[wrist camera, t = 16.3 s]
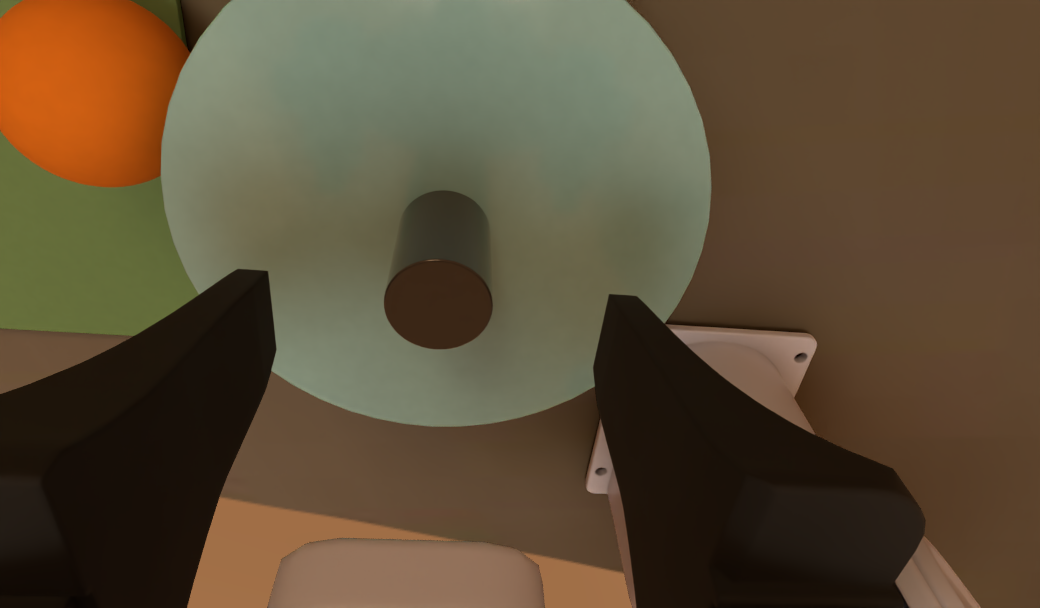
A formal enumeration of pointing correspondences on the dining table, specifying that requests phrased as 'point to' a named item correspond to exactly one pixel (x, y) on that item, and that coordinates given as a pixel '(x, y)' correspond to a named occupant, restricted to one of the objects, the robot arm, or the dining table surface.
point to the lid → (437, 191)
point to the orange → (88, 87)
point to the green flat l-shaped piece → (86, 243)
